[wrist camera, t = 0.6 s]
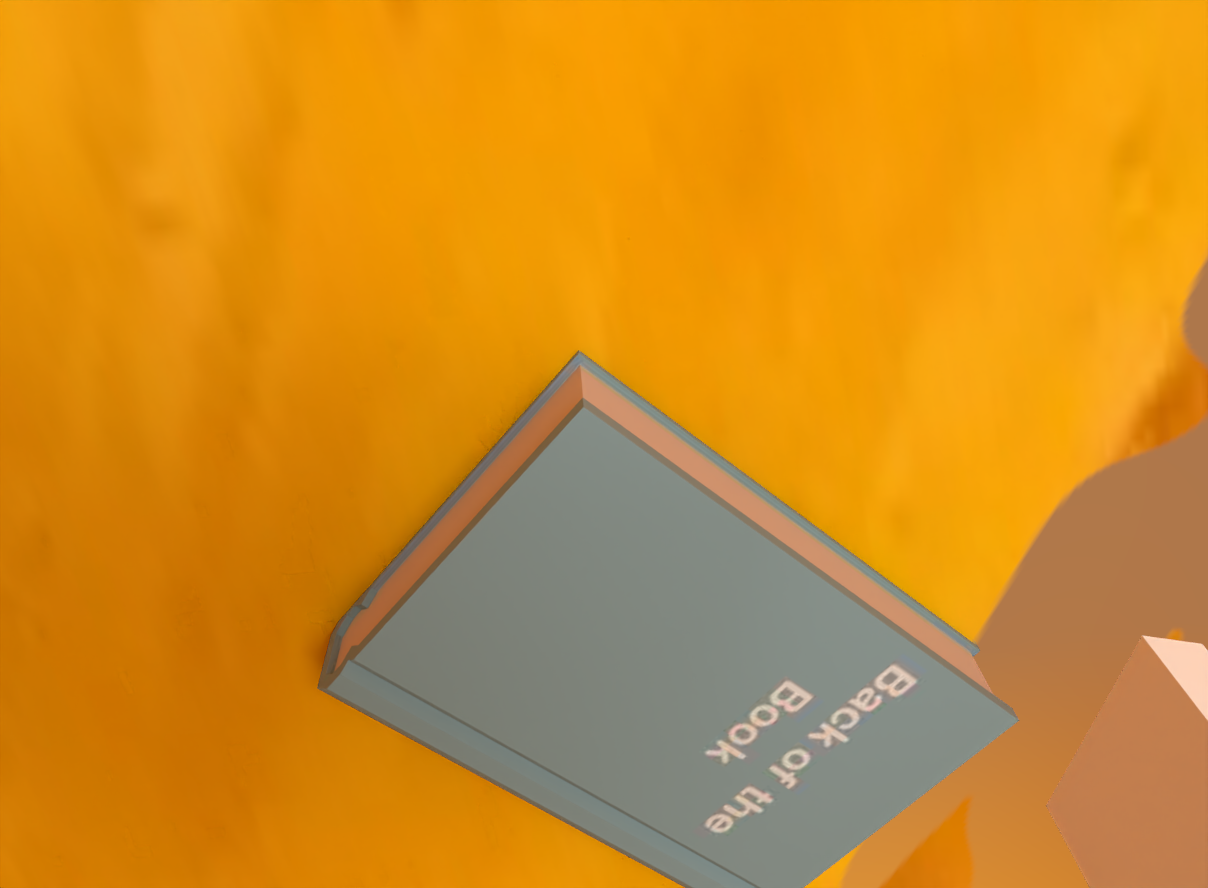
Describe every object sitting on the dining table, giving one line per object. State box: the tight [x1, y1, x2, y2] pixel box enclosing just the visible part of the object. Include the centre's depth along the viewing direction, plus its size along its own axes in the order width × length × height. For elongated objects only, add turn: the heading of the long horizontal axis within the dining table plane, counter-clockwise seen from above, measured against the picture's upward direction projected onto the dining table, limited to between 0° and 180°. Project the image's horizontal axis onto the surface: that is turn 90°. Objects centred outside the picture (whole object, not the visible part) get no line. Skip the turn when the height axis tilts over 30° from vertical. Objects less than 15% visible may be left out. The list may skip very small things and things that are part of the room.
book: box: [317, 351, 1019, 888], centre depth 44 cm, size 23×16×5 cm
